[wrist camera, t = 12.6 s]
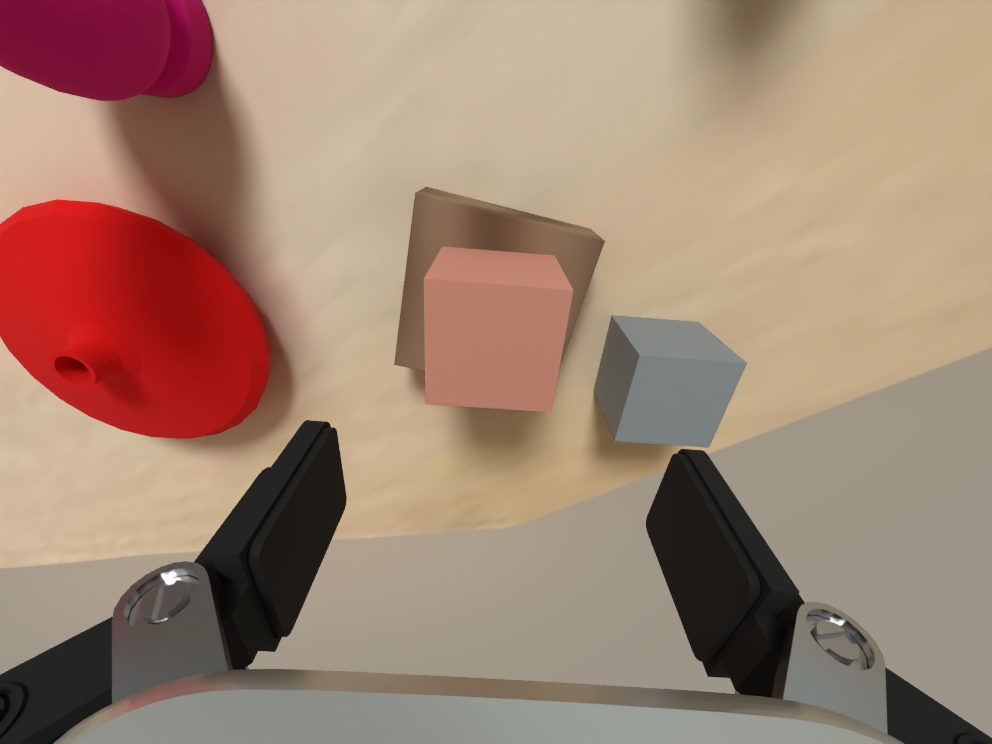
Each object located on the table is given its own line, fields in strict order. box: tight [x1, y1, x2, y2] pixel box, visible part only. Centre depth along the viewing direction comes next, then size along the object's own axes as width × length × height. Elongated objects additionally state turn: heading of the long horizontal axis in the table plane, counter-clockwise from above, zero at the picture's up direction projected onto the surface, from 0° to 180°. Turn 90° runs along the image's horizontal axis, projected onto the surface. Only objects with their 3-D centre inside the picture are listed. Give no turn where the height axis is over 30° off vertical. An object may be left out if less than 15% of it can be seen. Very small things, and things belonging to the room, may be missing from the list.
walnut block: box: [394, 187, 605, 371], centre depth 24 cm, size 10×10×4 cm
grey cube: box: [594, 315, 747, 447], centre depth 25 cm, size 6×6×6 cm
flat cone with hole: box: [0, 200, 270, 438], centre depth 24 cm, size 16×16×7 cm
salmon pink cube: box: [424, 247, 573, 412], centre depth 20 cm, size 6×6×6 cm
